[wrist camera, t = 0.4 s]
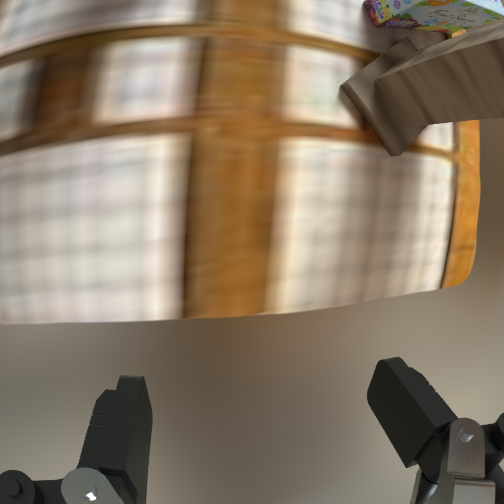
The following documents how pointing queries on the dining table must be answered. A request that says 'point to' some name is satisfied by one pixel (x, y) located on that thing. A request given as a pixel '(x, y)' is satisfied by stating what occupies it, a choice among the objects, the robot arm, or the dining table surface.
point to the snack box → (434, 14)
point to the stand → (431, 85)
